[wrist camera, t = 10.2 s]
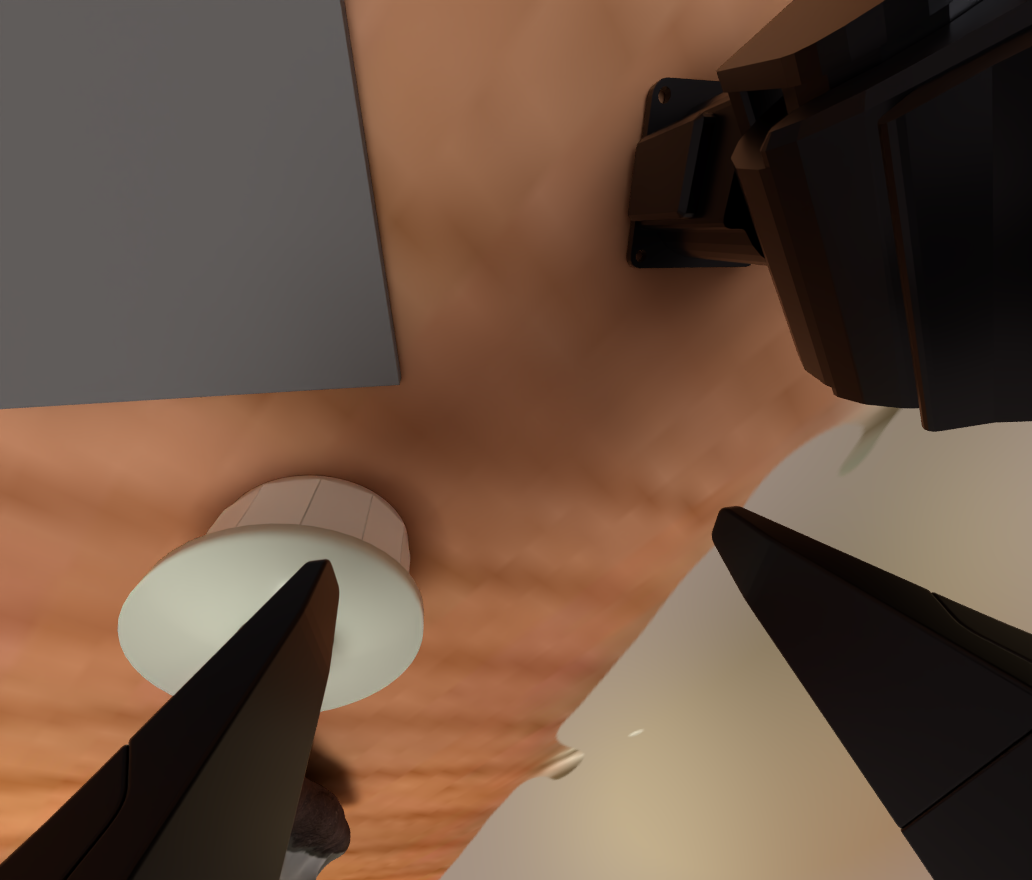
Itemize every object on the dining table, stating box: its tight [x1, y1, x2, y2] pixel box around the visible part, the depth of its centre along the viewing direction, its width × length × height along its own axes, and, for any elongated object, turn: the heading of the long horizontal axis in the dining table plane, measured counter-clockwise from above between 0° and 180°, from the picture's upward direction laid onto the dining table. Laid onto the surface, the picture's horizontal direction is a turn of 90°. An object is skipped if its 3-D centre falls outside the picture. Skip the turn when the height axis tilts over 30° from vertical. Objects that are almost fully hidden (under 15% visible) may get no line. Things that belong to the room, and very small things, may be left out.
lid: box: [118, 523, 424, 712], centre depth 16 cm, size 12×12×4 cm
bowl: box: [206, 475, 410, 573], centre depth 20 cm, size 10×10×5 cm
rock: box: [280, 777, 350, 880], centre depth 30 cm, size 18×11×8 cm, turn 10°
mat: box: [0, 0, 401, 409], centre depth 13 cm, size 16×16×1 cm
